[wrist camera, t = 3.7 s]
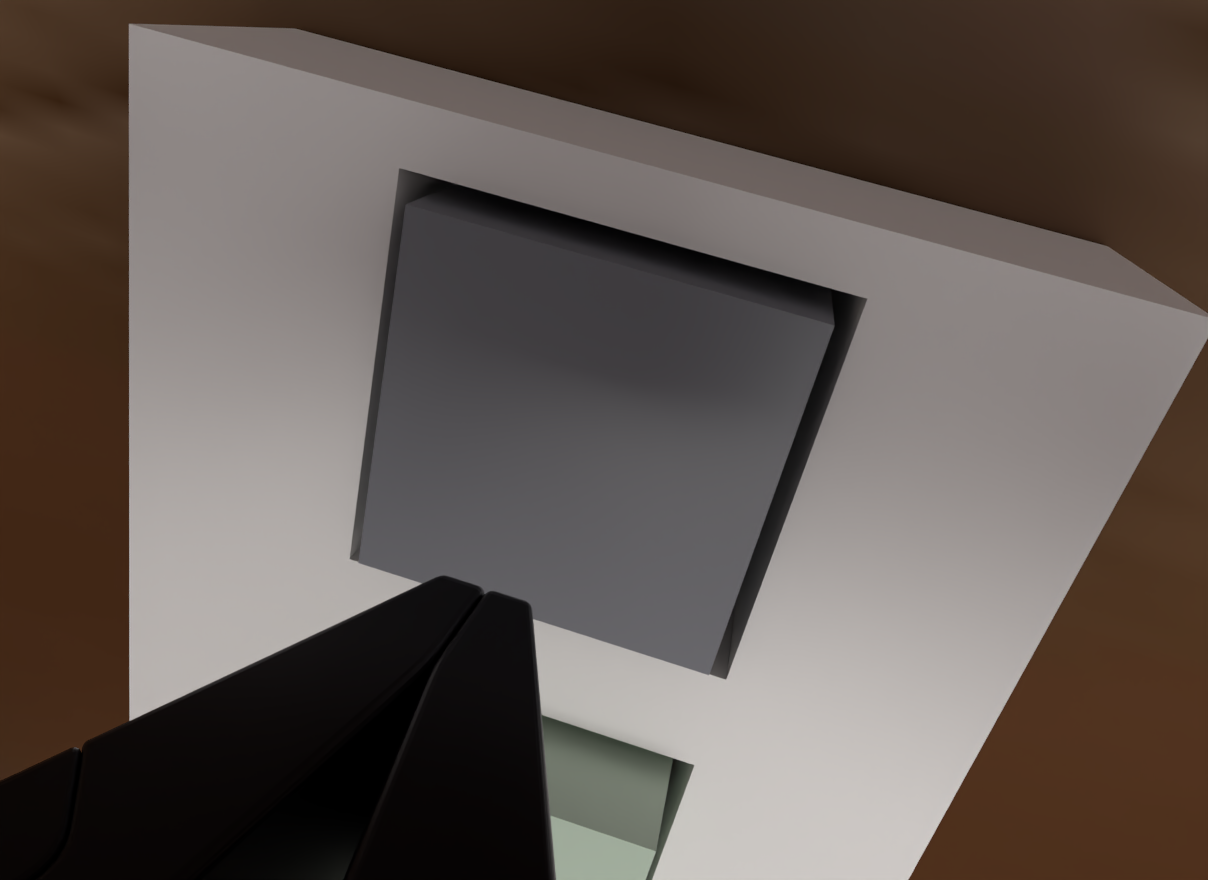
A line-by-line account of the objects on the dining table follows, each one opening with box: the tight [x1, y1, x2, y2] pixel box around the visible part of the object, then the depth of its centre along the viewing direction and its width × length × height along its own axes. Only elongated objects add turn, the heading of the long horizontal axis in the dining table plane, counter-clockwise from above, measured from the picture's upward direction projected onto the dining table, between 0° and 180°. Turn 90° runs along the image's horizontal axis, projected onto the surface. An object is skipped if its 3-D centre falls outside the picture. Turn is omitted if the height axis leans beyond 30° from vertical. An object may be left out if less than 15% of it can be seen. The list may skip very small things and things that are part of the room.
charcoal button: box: [358, 184, 835, 675], centre depth 13 cm, size 5×5×4 cm
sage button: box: [542, 715, 673, 880], centre depth 16 cm, size 5×5×4 cm
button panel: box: [129, 24, 1208, 880], centre depth 17 cm, size 22×13×4 cm, turn 167°
